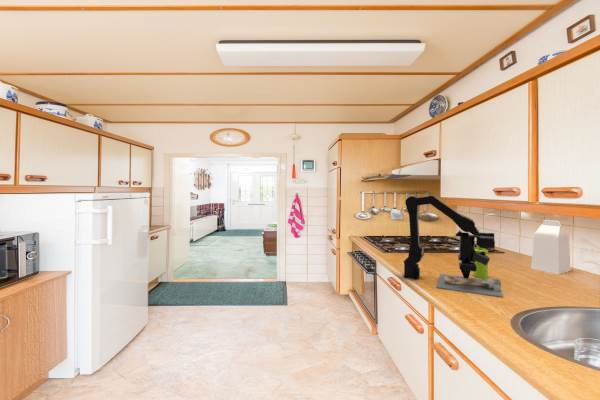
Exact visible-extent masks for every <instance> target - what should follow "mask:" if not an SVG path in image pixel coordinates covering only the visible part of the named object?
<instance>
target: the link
mask: <svg viewBox="0 0 600 400" xmlns="http://www.w3.org/2000/svg"><path fill="white" fill-rule="evenodd" d="M445 283H447V284H462V285H477V286H489V284H486V283H482V282H481V278H479V279H469V278H453V277H452V276H448V277H445Z"/></svg>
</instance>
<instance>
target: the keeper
mask: <svg viewBox="0 0 600 400" xmlns="http://www.w3.org/2000/svg"><path fill="white" fill-rule="evenodd" d="M480 279H481V282H482V283H486V284H493V290H494V291H498V292H502V283H501V280H500V279H497V278H489V277H487V278H482V277H481V278H480Z"/></svg>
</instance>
